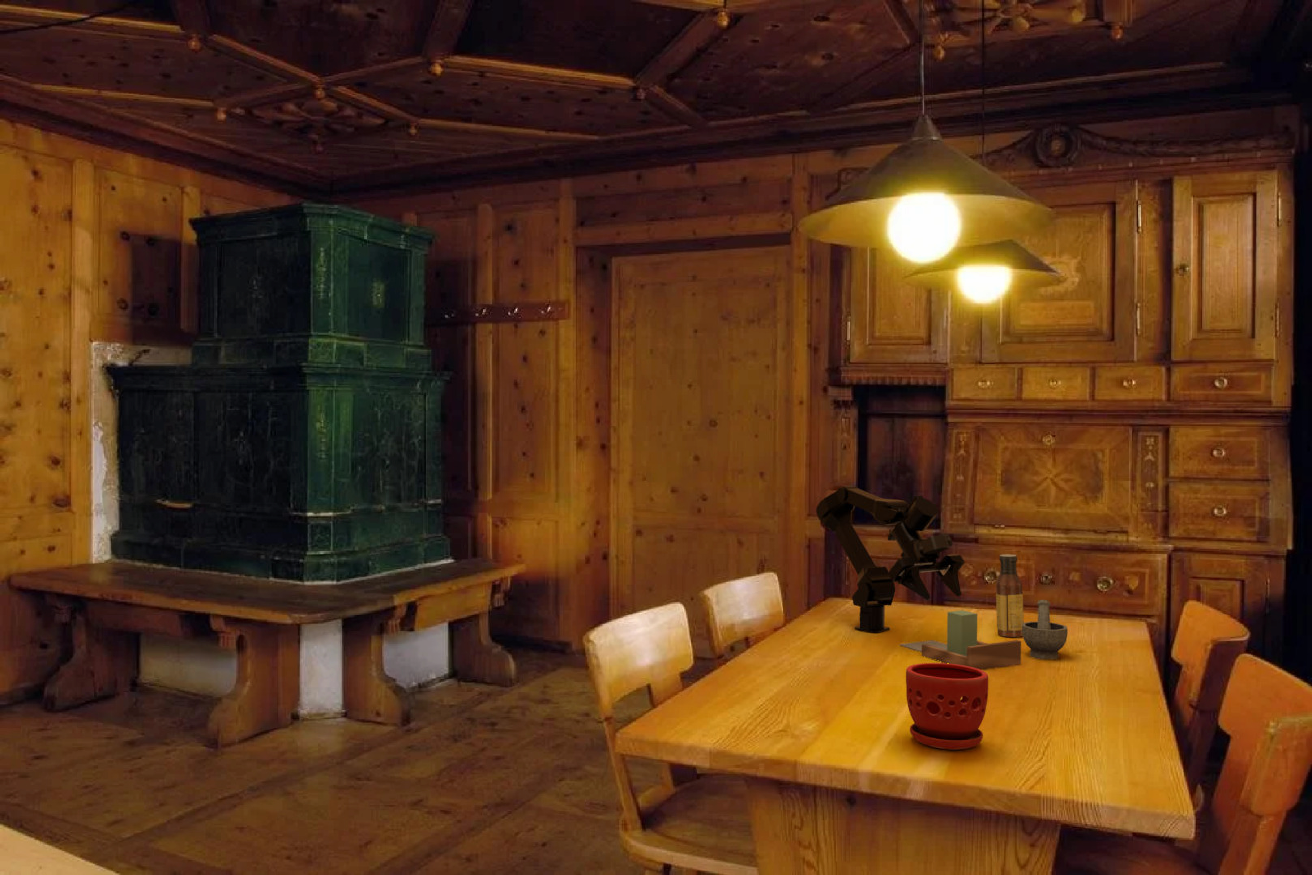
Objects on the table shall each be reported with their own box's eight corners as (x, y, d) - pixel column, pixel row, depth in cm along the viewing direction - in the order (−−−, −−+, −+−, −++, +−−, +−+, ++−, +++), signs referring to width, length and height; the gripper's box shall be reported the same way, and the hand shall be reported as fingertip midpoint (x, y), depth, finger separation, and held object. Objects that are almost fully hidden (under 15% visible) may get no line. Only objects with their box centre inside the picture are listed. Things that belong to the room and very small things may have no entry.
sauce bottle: (1026, 634, 246) (1027, 554, 246) (1020, 639, 241) (1021, 557, 240) (998, 631, 249) (999, 552, 249) (992, 636, 244) (993, 555, 244)
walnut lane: (921, 655, 224) (921, 633, 224) (969, 649, 230) (970, 627, 230) (970, 671, 210) (971, 647, 210) (1020, 664, 217) (1021, 641, 217)
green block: (947, 656, 224) (947, 611, 223) (962, 654, 226) (962, 610, 225) (961, 660, 220) (961, 615, 219) (976, 658, 222) (977, 613, 221)
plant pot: (1003, 751, 160) (1004, 677, 160) (928, 757, 157) (929, 681, 157) (962, 726, 173) (962, 657, 172) (891, 731, 170) (892, 661, 170)
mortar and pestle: (1068, 663, 218) (1068, 608, 217) (1022, 659, 221) (1023, 605, 221) (1064, 651, 228) (1065, 599, 228) (1021, 648, 231) (1021, 597, 231)
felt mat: (899, 645, 234) (899, 644, 234) (932, 641, 238) (932, 640, 238) (929, 654, 225) (929, 653, 225) (962, 650, 229) (962, 648, 229)
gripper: (897, 523, 228) (930, 578, 218) (959, 520, 236) (993, 573, 226) (874, 554, 235) (905, 608, 225) (935, 549, 243) (968, 602, 234)
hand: (944, 597), depth 228 cm, fingers open, 9 cm apart
